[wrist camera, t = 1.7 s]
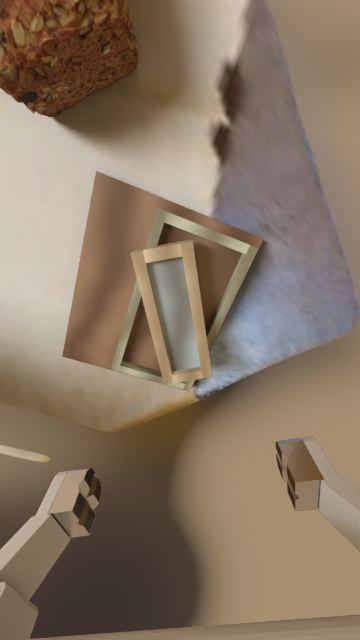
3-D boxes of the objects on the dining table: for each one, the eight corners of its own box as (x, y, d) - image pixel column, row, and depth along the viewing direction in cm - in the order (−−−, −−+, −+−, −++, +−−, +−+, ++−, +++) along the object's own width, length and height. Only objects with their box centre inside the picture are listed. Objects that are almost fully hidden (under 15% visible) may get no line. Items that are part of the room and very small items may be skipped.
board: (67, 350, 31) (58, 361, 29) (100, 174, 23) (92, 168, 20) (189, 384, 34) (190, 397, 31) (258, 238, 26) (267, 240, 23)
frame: (164, 374, 30) (164, 384, 28) (133, 250, 23) (130, 252, 21) (210, 367, 29) (212, 377, 28) (191, 239, 23) (192, 241, 21)
